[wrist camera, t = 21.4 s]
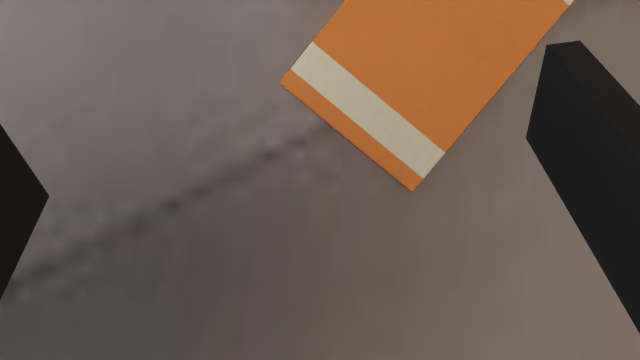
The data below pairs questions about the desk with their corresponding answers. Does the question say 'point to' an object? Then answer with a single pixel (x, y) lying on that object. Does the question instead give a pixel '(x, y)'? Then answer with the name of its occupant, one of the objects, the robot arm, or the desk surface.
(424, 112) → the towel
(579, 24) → the desk surface
